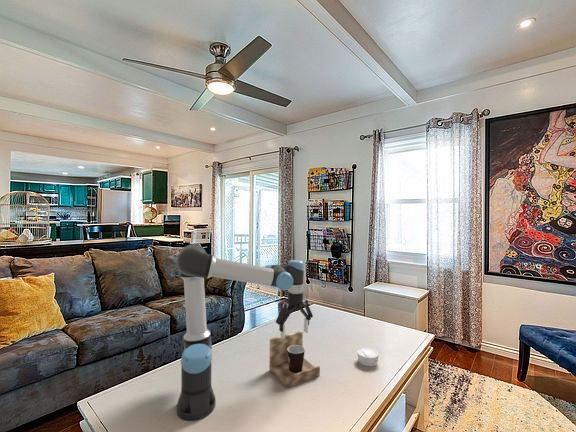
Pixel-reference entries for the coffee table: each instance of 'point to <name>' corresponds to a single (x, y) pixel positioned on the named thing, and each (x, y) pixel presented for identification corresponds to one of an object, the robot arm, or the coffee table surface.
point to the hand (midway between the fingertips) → (294, 334)
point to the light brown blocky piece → (281, 364)
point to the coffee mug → (295, 358)
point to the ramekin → (368, 356)
